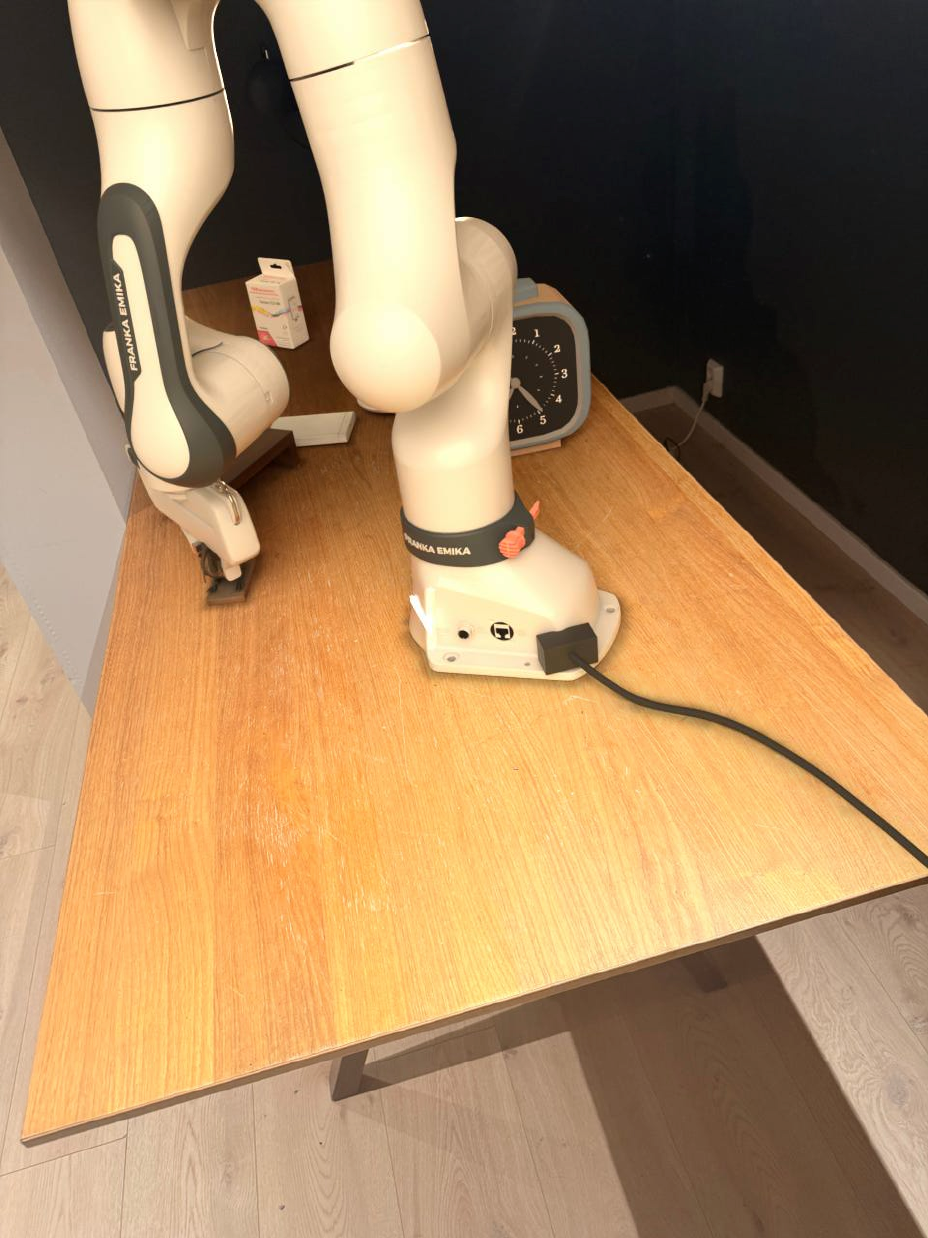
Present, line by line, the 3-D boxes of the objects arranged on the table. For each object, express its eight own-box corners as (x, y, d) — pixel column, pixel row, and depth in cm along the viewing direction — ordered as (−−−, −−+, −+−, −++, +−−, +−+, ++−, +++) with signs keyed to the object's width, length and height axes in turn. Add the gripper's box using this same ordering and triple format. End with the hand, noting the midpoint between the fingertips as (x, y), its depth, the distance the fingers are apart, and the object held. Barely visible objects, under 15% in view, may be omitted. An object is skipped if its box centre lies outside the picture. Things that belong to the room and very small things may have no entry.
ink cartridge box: (259, 345, 178) (238, 265, 169) (276, 335, 181) (257, 256, 172) (293, 349, 174) (274, 268, 165) (310, 339, 177) (292, 258, 168)
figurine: (240, 623, 106) (218, 558, 101) (200, 628, 106) (177, 564, 101) (257, 555, 118) (239, 494, 112) (221, 559, 118) (201, 498, 113)
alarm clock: (449, 473, 129) (426, 315, 116) (436, 443, 136) (413, 292, 123) (594, 442, 131) (588, 284, 118) (574, 415, 138) (566, 264, 125)
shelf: (300, 461, 137) (289, 417, 133) (226, 526, 124) (211, 479, 120) (244, 455, 141) (231, 411, 137) (167, 517, 128) (150, 471, 124)
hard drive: (263, 440, 140) (345, 433, 139) (275, 416, 147) (354, 409, 145) (266, 450, 141) (347, 443, 140) (278, 426, 148) (356, 419, 146)
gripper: (256, 476, 97) (286, 587, 105) (168, 422, 110) (201, 524, 118) (201, 501, 94) (237, 613, 102) (117, 442, 107) (155, 545, 115)
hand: (217, 564), depth 110 cm, fingers closed on figurine, 6 cm apart
